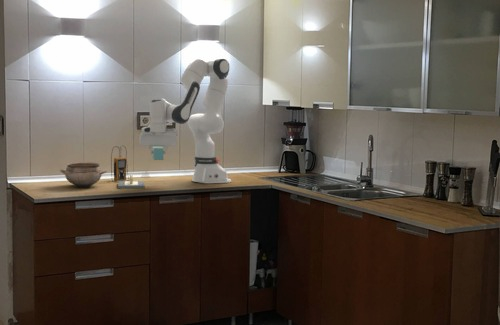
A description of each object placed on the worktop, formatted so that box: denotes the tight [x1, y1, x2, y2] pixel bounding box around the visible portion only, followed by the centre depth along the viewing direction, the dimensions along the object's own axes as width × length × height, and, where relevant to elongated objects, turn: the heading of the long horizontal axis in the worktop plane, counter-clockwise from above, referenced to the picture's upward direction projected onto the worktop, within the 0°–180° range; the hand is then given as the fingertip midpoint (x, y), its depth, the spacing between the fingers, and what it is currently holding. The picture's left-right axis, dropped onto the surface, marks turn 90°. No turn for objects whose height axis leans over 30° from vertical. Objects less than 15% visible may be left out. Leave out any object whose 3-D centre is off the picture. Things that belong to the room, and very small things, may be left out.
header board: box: [117, 174, 146, 190], centre depth 368 cm, size 14×18×6 cm
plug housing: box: [152, 146, 164, 161], centre depth 369 cm, size 5×11×6 cm, turn 11°
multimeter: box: [110, 145, 130, 183], centre depth 384 cm, size 15×10×20 cm
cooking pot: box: [59, 161, 108, 189], centre depth 361 cm, size 25×19×12 cm
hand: (158, 153), depth 369 cm, fingers closed on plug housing, 5 cm apart
